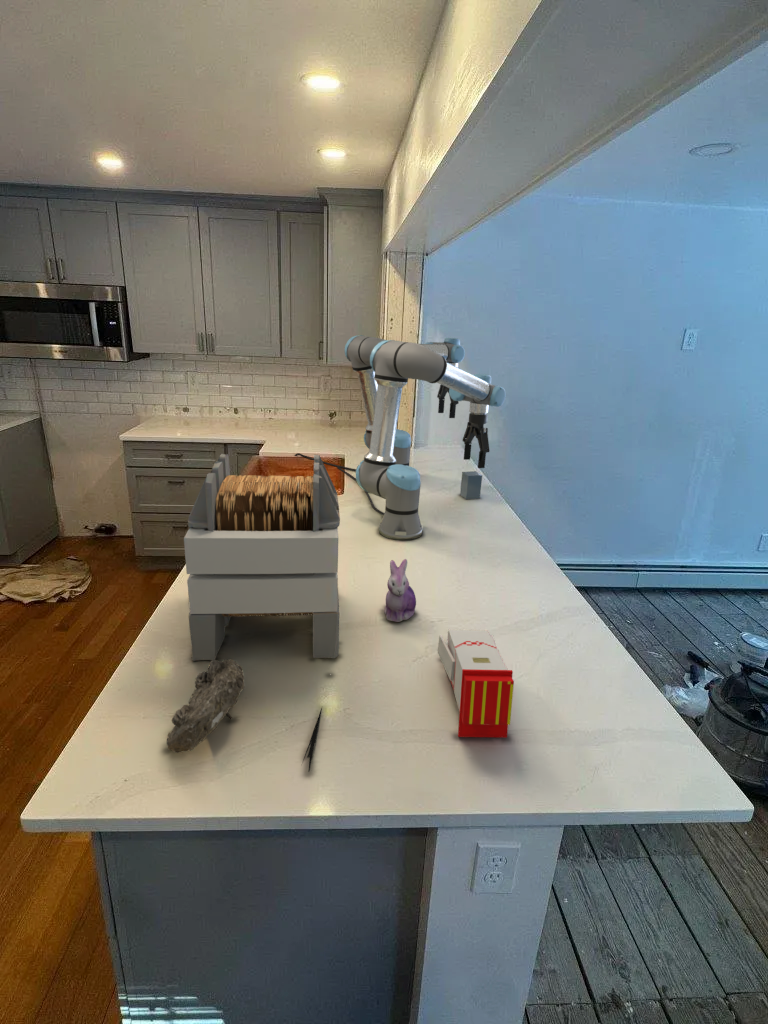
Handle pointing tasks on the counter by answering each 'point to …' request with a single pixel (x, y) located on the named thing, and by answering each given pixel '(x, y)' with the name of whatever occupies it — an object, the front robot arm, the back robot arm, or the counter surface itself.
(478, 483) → the brick
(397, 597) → the figurine
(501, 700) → the toy
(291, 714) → the counter surface
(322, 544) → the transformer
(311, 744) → the feather
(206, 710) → the fossil
